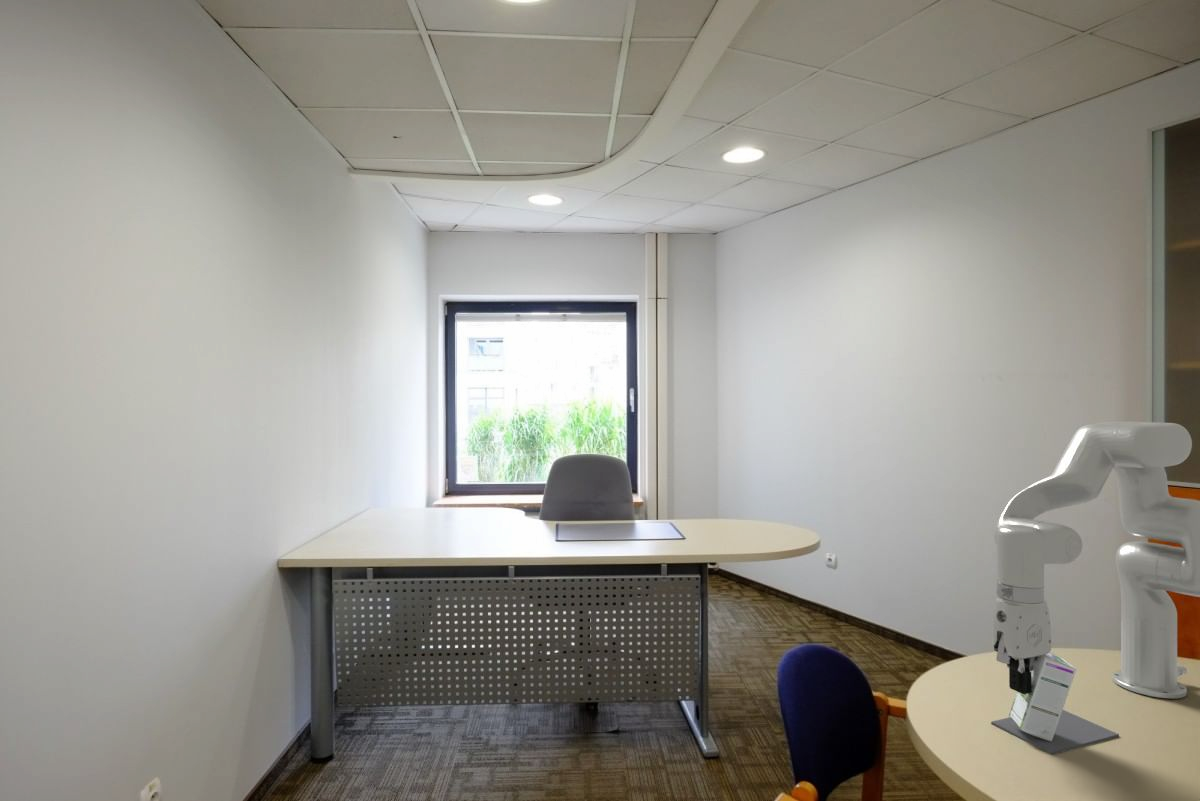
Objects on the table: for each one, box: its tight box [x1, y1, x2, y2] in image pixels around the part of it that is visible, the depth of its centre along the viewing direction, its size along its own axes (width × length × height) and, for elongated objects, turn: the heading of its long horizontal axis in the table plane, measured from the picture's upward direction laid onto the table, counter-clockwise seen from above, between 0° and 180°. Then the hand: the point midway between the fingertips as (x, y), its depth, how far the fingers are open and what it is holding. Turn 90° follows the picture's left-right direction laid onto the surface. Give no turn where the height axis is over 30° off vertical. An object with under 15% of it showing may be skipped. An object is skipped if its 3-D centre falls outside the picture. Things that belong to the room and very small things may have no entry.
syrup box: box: [1008, 652, 1077, 741], centre depth 125 cm, size 6×6×14 cm
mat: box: [990, 709, 1120, 755], centre depth 128 cm, size 18×12×1 cm, turn 110°
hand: (1020, 690), depth 125 cm, fingers closed
